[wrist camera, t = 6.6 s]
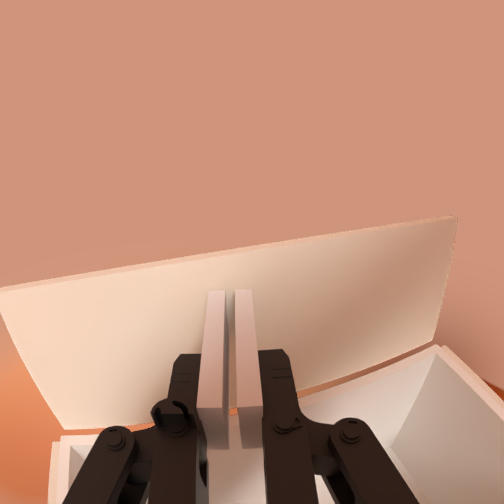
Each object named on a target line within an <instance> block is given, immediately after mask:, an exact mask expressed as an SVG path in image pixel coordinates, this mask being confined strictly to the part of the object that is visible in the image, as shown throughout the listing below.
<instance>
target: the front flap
mask: <svg viewBox="0 0 504 504" xmlns="http://www.w3.org/2000/svg"><path fill="white" fill-rule="evenodd" d="M457 222H458V217H455V216H452V215H450V216H444V217H437V218H430V219H423V220H417V221H411V222H403V223H397V224H390V225H384V226H377V227H371V228H364V229H358V230H351V231H345V232H338V233H332V234H325V235H319V236H313V237H306V238H300V239H293V240H287V241H281V242H275V243H269V244H262V245H256V246H250V247H243V248H237V249H230V250H224V251H218V252H211V253H205V254H199V255H193V256H187V257H180V258H174V259H168V260H162V261H156V262H150V263H144V264H137V265H131V266H125V267H119V268H114V269H107V270H101V271H95V272H89V273H83V274H77V275H71V276H65V277H59V278H53V279H47V280H41V281H35V282H30V283H24V284H18V285H12V286H6V287H0V313H1V315H2V317H3V320H4V322H5V324H6V327H7V329H8V331H9V333H10V335H11V337H12V340H13V342H14V344H15V346H16V348H17V350H18V352H19V354H20V356H21V358H22V360H23V362H24V364H25V366H26V368H27V370H28V371H29V373H30V375H31V377H32V379H33V380H34V382H35V384H36V385H37V387H38V389H39V391H40V392H41V394H42V396H43V397H44V399H45V401H46V402H47V404H48V405H49V407H50V408H51V410H52V412H53V413H54V415H55V416H56V418H57V419H58V420H59V422H60V424H61V425H62V426H63V428H64V429H91V428H106V427H111V426H129V425H138V424H146V423H154V421H153V419H152V416H151V414H150V412H151V410H152V407H153V406H154V405H155V404H156V403H157V402H159V401H161V400H163V399H165V398H167V396H168V391H169V385H170V379H171V375H172V369H173V363H174V362H175V360H176V359H177V358H178V356H179V355H180V354H200V353H202V345H203V335H204V326H205V317H206V308H207V300H208V291H224V290H225V295H226V306H227V317H228V328H229V409H232V408H237V381H236V333H235V290H244V289H252V299H253V309H254V319H255V330H256V340H257V350H271V349H283V350H284V352H285V353H286V354H287V355H288V356H289V358H290V363H291V369H292V373H293V378H294V383H295V388H296V392H298V391H302V390H305V389H308V388H312V387H315V386H318V385H321V384H324V383H327V382H330V381H333V380H336V379H339V378H342V377H345V376H347V375H350V374H353V373H356V372H358V371H361V370H364V369H366V368H369V367H371V366H374V365H377V364H379V363H382V362H384V361H387V360H389V359H392V358H394V357H396V356H399V355H401V354H403V353H406V352H408V351H410V350H413V349H415V348H417V347H419V346H421V345H424V344H426V343H428V342H430V341H432V340H433V336H434V333H435V329H436V326H437V322H438V318H439V315H440V311H441V307H442V302H443V298H444V294H445V290H446V285H447V281H448V276H449V271H450V265H451V260H452V255H453V249H454V243H455V236H456V229H457Z"/></svg>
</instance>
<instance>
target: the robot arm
mask: <svg viewBox="0 0 504 504" xmlns="http://www.w3.org/2000/svg"><path fill="white" fill-rule="evenodd" d="M235 333H236V381H237V410H238V419H239V427H240V436H241V444H242V449H254V448H263V455H264V477H265V494H266V504H319V501H318V494H317V488H316V482H315V475H321V477H322V479H323V481H324V483H325V485H326V487H327V489H328V491H329V493H330V495H331V497H332V499H333V501H334V503H335V504H420V503H419V502H418V500H417V499H416V497H415V496H414V494H413V492H412V491H411V489H410V488H409V486H408V485H407V483H406V482H405V480H404V479H403V477H402V476H401V474H400V473H399V471H398V470H397V468H396V467H395V465H394V463H393V462H392V460H391V459H390V457H389V456H388V454H387V453H386V451H385V450H384V448H383V447H382V445H381V444H380V442H379V441H378V439H377V438H376V436H375V434H374V433H373V431H372V430H371V428H370V427H369V426H368V425H367V424H366V423H365V422H364V421H362V420H360V419H358V418H352V417H348V418H343V419H341V420H339V421H337V422H336V423H335V424H334V425H333V424H325V423H319V422H315V421H312V420H310V419H308V418H307V417H306V416H305V415H304V414H303V413H302V412H301V410H300V407H299V403H298V398H297V393H296V388H295V383H294V378H293V373H292V369H291V363H290V358H289V356H288V355H287V354H286V353H285V352H284V350H283V349H271V350H257V340H256V330H255V319H254V309H253V299H252V289H244V290H235ZM150 414H151V416H152V419H153V421H154V423H155V426H153V427H151V428H148V429H144V430H139V431H134V432H131V431H130V430H129V429H127V428H125V427H123V426H111V427H108V428H106V429H104V430H103V431H102V432H101V433H100V434H99V436H98V437H97V439H96V441H95V443H94V445H93V446H92V448H91V450H90V452H89V454H88V456H87V457H86V459H85V461H84V463H83V465H82V467H81V468H80V470H79V472H78V474H77V476H76V478H75V480H74V482H73V483H72V485H71V487H70V489H69V491H68V493H67V495H66V497H65V499H64V501H63V503H62V504H146V501H147V499H148V504H209V463H208V459H207V447H208V450H230V444H229V328H228V317H227V306H226V295H225V290H224V291H208V300H207V308H206V317H205V326H204V335H203V345H202V353H200V354H180V355H179V356H178V358H177V359H176V360H175V362H174V363H173V369H172V375H171V379H170V385H169V391H168V396H167V398H165V399H163V400H161V401H159V402H157V403H156V404H155V405H154V406H153V407H152V410H151V412H150Z"/></svg>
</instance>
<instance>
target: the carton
mask: <svg viewBox="0 0 504 504" xmlns="http://www.w3.org/2000/svg"><path fill="white" fill-rule="evenodd" d="M298 403H299V407H300V410H301V412H302V413H303V414H304V415H305V416H306V417H307V418H308V419H310V420H312V421H315V422H319V423H325V424H333V425H334V424H335V423H336V422H337V421H339V420H341V419H343V418H348V417H352V418H358V419H360V420H362V421H364V422H365V423H366V424H367V425H368V426H369V427H370V428H371V430H372V431H373V433H374V434H375V436H376V438H377V439H378V441H379V442H380V444H381V445H382V447H383V448H384V450H385V451H386V453H387V454H388V456H389V457H390V459H391V460H392V462H393V463H394V465H395V467H396V468H397V470H398V471H399V473H400V474H401V476H402V477H403V479H404V480H405V482H406V483H407V485H408V486H409V488H410V489H411V491H412V492H413V494H414V496H415V497H416V499H417V500H418V502H419V503H420V504H504V401H503V400H502V399H501V398H500V397H499V396H498V395H497V394H496V393H495V392H494V391H493V390H492V389H491V388H490V387H489V386H488V385H487V384H486V383H485V382H484V381H483V380H482V379H481V378H480V377H478V375H476V374H475V373H474V372H473V371H472V370H471V369H470V368H469V367H468V366H467V365H466V364H465V363H464V362H463V361H462V360H461V359H460V358H459V357H457V356H456V355H455V354H454V353H453V352H452V351H451V350H450V349H449V348H448V347H447V346H445V345H444V346H442V347H439V346H438V345H437V344H435V345H433V346H431V347H429V348H427V349H425V350H423V351H421V352H419V353H417V354H414V355H412V356H410V357H408V358H405V359H403V360H401V361H399V362H396V363H394V364H392V365H389V366H387V367H384V368H382V369H379V370H377V371H375V372H372V373H370V374H367V375H364V376H362V377H359V378H357V379H354V380H351V381H348V382H346V383H343V384H340V385H337V386H334V387H331V388H329V389H325V390H323V391H319V392H316V393H313V394H310V395H307V396H304V397H300V398H298ZM98 436H99V434H97V435H76V436H61V440H60V442H53V444H52V453H51V462H50V463H51V464H50V475H49V490H48V504H62V503H63V501H64V499H65V497H66V495H67V493H68V491H69V489H70V487H71V485H72V483H73V482H74V480H75V478H76V476H77V474H78V472H79V470H80V468H81V467H82V465H83V463H84V461H85V459H86V457H87V456H88V454H89V452H90V450H91V448H92V446H93V445H94V443H95V441H96V439H97V437H98ZM229 444H230V450H208V447H207V459H208V463H209V504H266V494H265V477H264V455H263V448H254V449H242V444H241V436H240V427H239V419H238V414H236V415H232V416H229ZM315 482H316V488H317V494H318V501H319V504H335V503H334V501H333V499H332V497H331V495H330V493H329V491H328V489H327V487H326V485H325V483H324V481H323V479H322V477H321V475H315ZM146 504H148V499H147V501H146Z"/></svg>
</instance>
